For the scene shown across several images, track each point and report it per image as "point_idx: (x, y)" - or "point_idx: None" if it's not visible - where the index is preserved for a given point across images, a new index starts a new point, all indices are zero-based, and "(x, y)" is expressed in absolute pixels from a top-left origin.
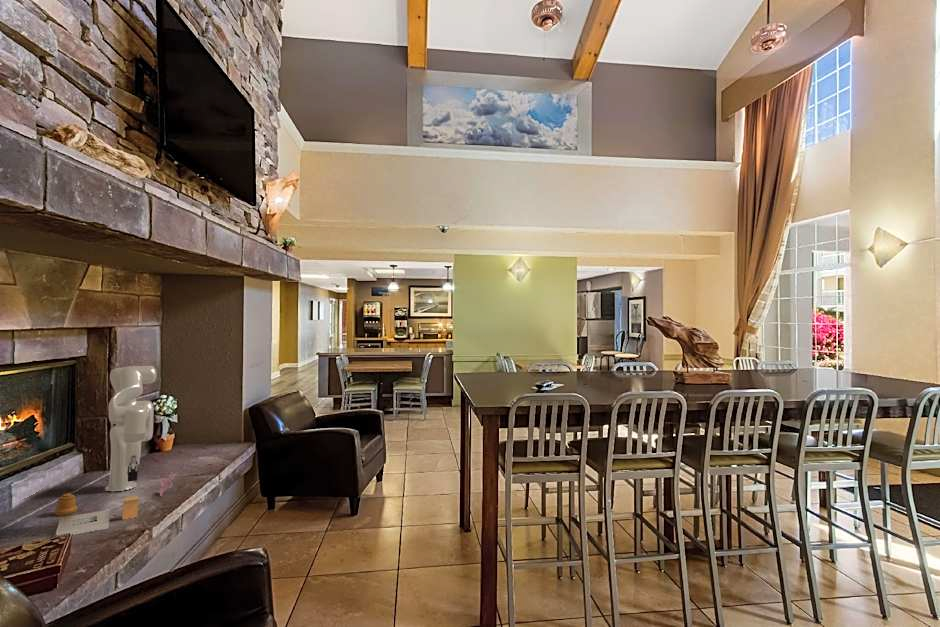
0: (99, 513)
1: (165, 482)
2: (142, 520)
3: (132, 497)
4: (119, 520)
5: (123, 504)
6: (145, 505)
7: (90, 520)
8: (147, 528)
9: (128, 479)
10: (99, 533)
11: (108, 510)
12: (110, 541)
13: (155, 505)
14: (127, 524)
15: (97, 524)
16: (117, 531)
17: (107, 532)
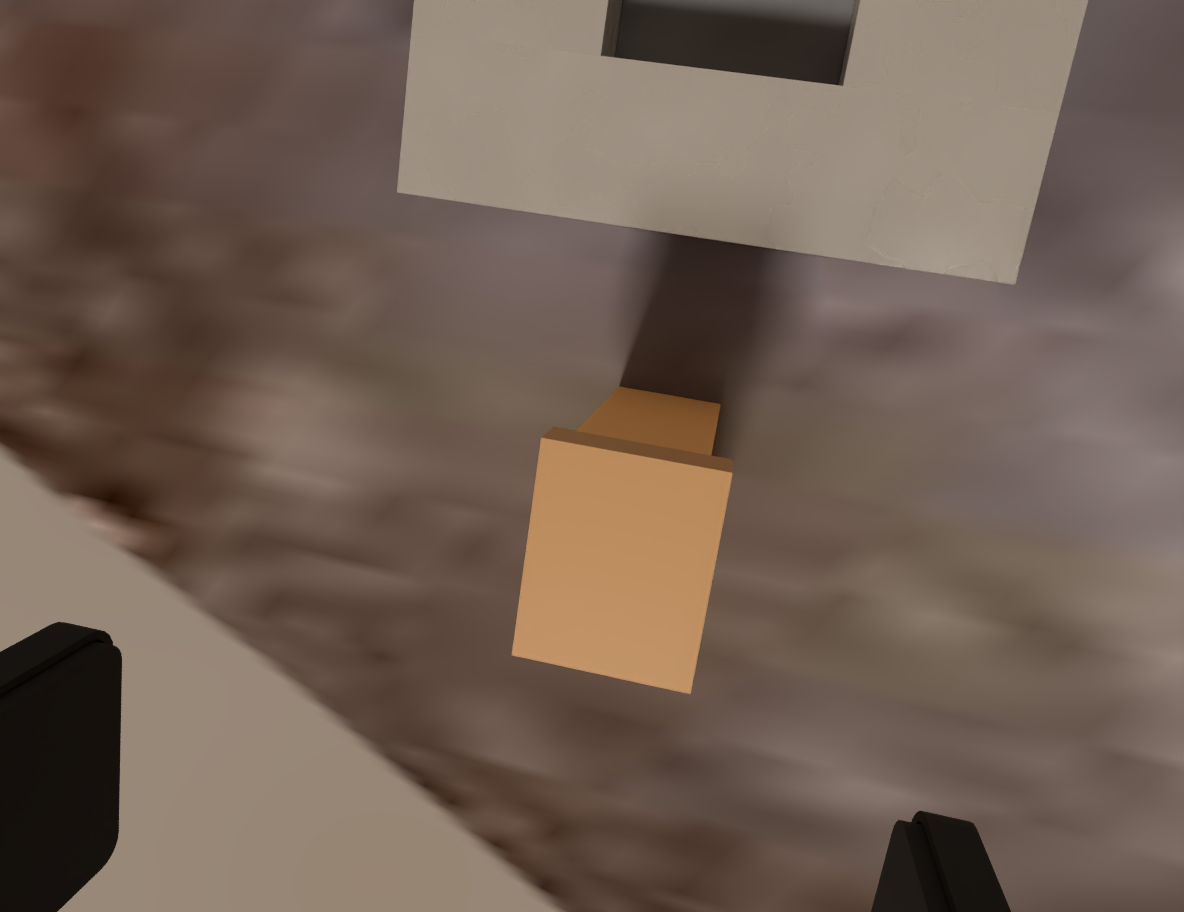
0: (937, 126)
1: None
2: (444, 567)
3: (663, 602)
4: (629, 352)
5: (579, 429)
6: (1004, 736)
7: (855, 5)
8: (163, 548)
9: (12, 662)
10: (317, 79)
11: (983, 262)
12: (8, 160)
13: None
14: (419, 404)
15: (448, 52)
16: (259, 270)
17: (294, 167)
